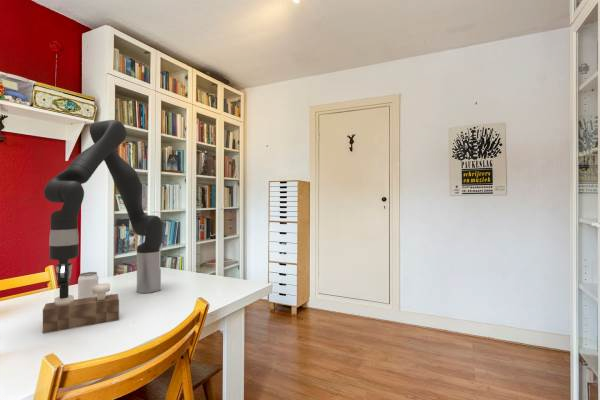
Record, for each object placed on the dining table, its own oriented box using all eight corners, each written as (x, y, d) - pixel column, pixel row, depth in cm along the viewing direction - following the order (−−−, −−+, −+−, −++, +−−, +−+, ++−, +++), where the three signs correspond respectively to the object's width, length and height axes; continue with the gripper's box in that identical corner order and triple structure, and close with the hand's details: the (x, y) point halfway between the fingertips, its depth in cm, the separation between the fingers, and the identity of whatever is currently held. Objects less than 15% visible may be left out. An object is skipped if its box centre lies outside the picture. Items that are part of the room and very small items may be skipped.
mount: (117, 313, 113) (117, 293, 113) (118, 319, 107) (118, 299, 107) (45, 325, 102) (45, 303, 102) (42, 333, 96) (42, 310, 96)
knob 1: (74, 317, 105) (74, 294, 105) (73, 321, 101) (73, 298, 101) (55, 320, 102) (55, 296, 102) (53, 325, 98) (53, 300, 98)
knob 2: (109, 304, 110) (109, 282, 110) (110, 308, 106) (110, 285, 106) (92, 306, 108) (92, 284, 108) (92, 311, 104) (92, 288, 104)
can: (76, 308, 117) (76, 276, 117) (79, 303, 123) (79, 272, 123) (97, 306, 120) (97, 274, 120) (99, 301, 126) (99, 271, 126)
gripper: (77, 245, 98) (77, 301, 98) (79, 240, 109) (79, 290, 109) (46, 246, 94) (46, 305, 94) (51, 241, 105) (51, 294, 105)
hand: (64, 297), depth 102 cm, fingers closed
